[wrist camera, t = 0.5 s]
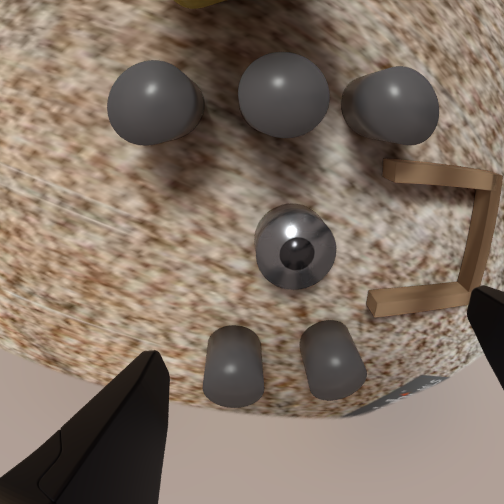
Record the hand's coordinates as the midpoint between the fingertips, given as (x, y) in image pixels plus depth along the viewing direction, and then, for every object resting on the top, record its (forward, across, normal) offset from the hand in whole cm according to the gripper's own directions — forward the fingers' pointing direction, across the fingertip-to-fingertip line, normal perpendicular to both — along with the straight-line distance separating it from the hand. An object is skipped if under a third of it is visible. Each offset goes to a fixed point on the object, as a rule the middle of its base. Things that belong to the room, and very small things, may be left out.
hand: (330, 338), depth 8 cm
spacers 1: (+12, -1, -6) cm, 14 cm away
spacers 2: (+12, +1, +10) cm, 16 cm away
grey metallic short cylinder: (+12, 0, +2) cm, 13 cm away
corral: (+12, -11, +4) cm, 17 cm away
